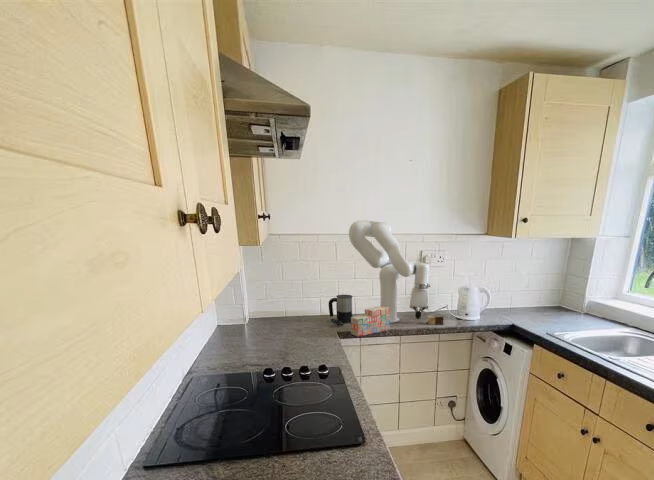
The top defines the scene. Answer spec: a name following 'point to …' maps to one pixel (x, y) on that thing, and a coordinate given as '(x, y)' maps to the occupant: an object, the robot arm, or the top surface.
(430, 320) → the birch block
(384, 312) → the stack of blocks
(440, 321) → the walnut block
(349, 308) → the milk frother
